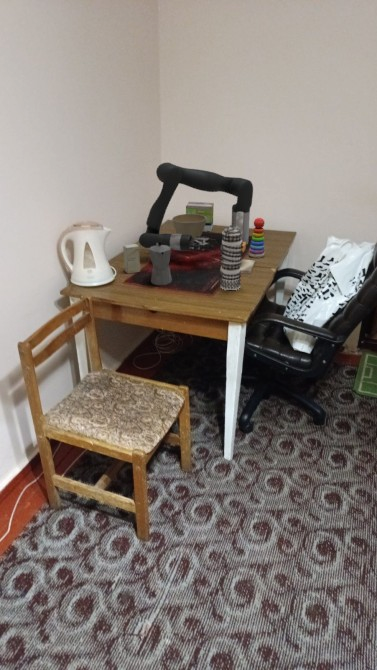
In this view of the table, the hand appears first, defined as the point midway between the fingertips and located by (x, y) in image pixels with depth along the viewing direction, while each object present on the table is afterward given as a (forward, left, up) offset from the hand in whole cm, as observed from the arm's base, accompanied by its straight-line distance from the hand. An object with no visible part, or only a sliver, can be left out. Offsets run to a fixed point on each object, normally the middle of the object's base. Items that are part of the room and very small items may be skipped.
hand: (214, 244), depth 210 cm
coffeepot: (-7, -29, -10) cm, 32 cm away
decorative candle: (+21, -16, -10) cm, 29 cm away
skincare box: (-25, -29, -10) cm, 40 cm away
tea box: (-44, +43, -10) cm, 62 cm away
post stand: (+10, +5, -10) cm, 15 cm away
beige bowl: (-35, +23, -10) cm, 43 cm away
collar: (+10, +5, -2) cm, 11 cm away
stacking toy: (+8, +24, -10) cm, 27 cm away
